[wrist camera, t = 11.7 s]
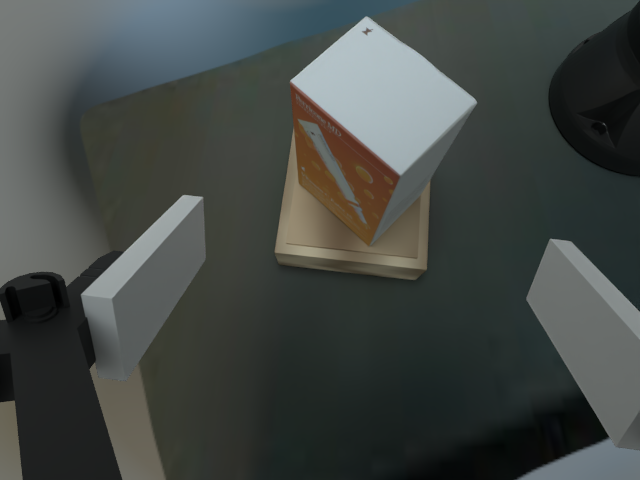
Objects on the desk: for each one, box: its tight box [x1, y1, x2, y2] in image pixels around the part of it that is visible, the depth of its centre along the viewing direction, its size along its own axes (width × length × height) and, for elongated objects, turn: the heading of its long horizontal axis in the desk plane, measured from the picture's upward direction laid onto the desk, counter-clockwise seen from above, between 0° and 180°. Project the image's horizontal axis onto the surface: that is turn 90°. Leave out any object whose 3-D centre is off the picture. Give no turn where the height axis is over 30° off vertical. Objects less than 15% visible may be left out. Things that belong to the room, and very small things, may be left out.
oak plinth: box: [275, 130, 430, 280], centre depth 36 cm, size 12×12×4 cm
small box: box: [290, 17, 477, 246], centre depth 28 cm, size 8×6×13 cm
